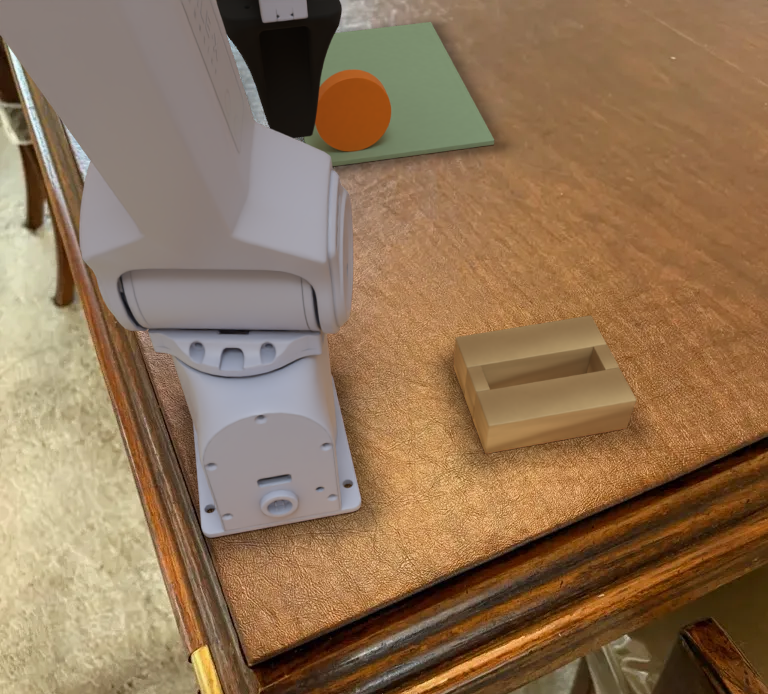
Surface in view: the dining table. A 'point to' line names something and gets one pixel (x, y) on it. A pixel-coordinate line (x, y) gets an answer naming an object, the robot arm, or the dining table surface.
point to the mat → (407, 93)
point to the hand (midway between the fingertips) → (284, 98)
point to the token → (352, 110)
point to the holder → (541, 384)
